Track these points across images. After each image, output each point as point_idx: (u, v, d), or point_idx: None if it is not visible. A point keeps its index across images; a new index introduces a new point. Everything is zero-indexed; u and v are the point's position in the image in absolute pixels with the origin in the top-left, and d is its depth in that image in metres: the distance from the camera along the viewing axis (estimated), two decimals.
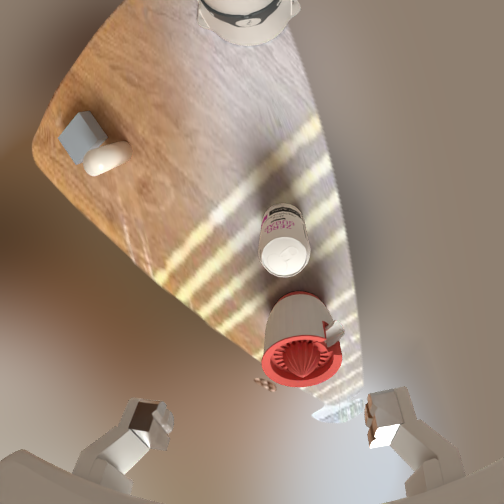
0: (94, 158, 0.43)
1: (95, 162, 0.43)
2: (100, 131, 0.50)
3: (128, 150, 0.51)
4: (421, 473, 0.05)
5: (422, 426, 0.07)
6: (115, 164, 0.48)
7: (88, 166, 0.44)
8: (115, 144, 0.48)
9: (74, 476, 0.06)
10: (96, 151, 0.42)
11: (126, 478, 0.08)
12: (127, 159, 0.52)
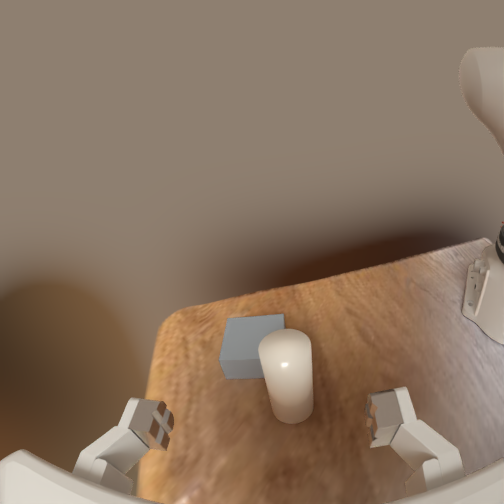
0: (292, 342, 0.26)
1: (289, 348, 0.25)
2: None
3: (311, 405, 0.28)
4: (421, 473, 0.05)
5: (422, 426, 0.07)
6: (296, 393, 0.25)
7: (270, 346, 0.26)
8: None
9: (74, 476, 0.06)
10: (304, 336, 0.26)
11: (126, 478, 0.08)
12: (298, 416, 0.28)
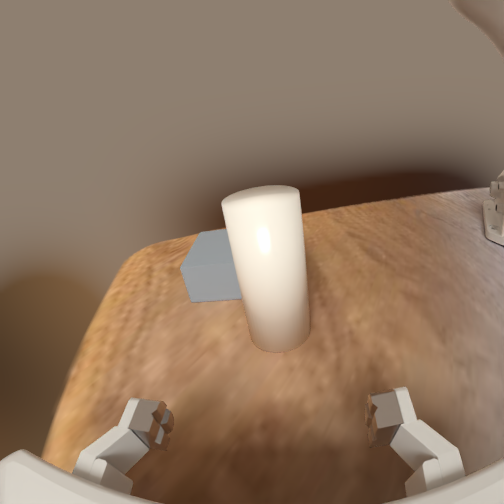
0: (271, 192, 0.18)
1: (266, 196, 0.17)
2: None
3: (307, 320, 0.21)
4: (421, 473, 0.05)
5: (422, 426, 0.07)
6: (280, 278, 0.18)
7: (239, 197, 0.18)
8: None
9: (74, 476, 0.06)
10: (290, 188, 0.18)
11: (126, 478, 0.08)
12: (288, 337, 0.20)
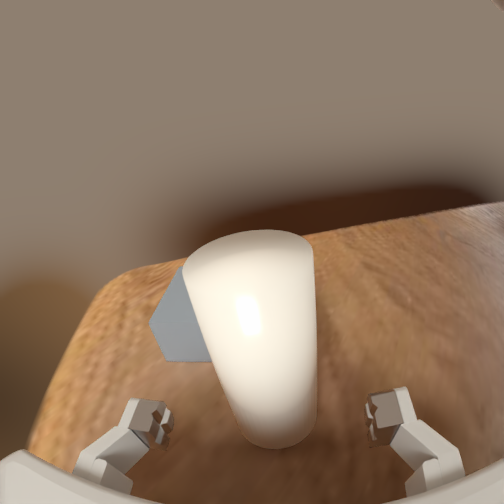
0: (266, 249, 0.11)
1: (257, 258, 0.10)
2: None
3: (313, 412, 0.14)
4: (421, 473, 0.05)
5: (422, 426, 0.07)
6: (278, 384, 0.11)
7: (212, 256, 0.11)
8: None
9: (74, 476, 0.06)
10: (296, 238, 0.11)
11: (126, 478, 0.08)
12: (286, 436, 0.13)
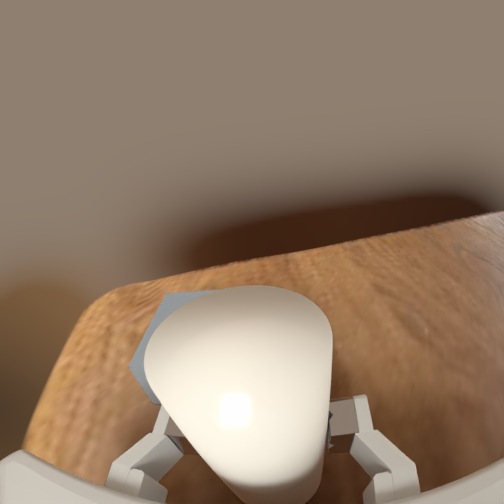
0: (264, 325, 0.07)
1: (249, 345, 0.07)
2: None
3: (318, 481, 0.10)
4: (372, 485, 0.06)
5: (378, 437, 0.07)
6: (277, 480, 0.07)
7: (187, 334, 0.07)
8: None
9: (74, 476, 0.06)
10: (307, 306, 0.08)
11: (161, 487, 0.08)
12: None
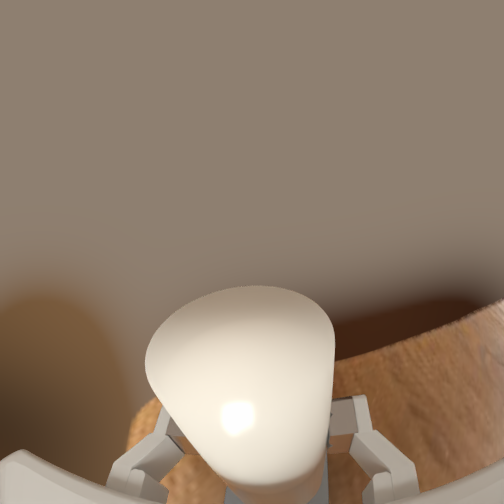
0: (265, 326, 0.07)
1: (251, 346, 0.07)
2: None
3: (319, 481, 0.10)
4: (371, 486, 0.06)
5: (377, 437, 0.07)
6: (279, 481, 0.07)
7: (188, 334, 0.07)
8: None
9: (74, 476, 0.06)
10: (310, 307, 0.08)
11: (162, 487, 0.08)
12: None
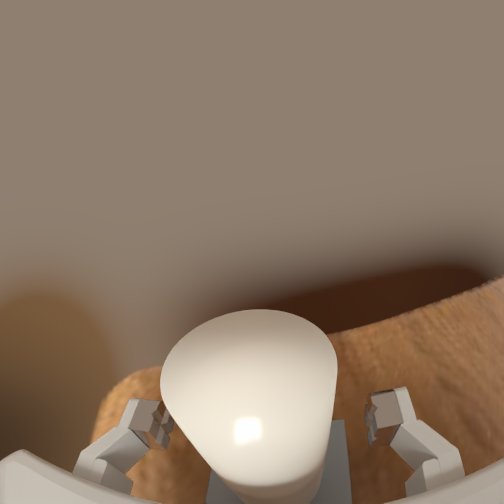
0: (273, 352, 0.08)
1: (260, 371, 0.07)
2: None
3: (318, 486, 0.10)
4: (421, 473, 0.05)
5: (422, 426, 0.07)
6: (282, 488, 0.07)
7: (200, 359, 0.08)
8: None
9: (74, 476, 0.06)
10: (314, 333, 0.08)
11: (126, 478, 0.08)
12: None
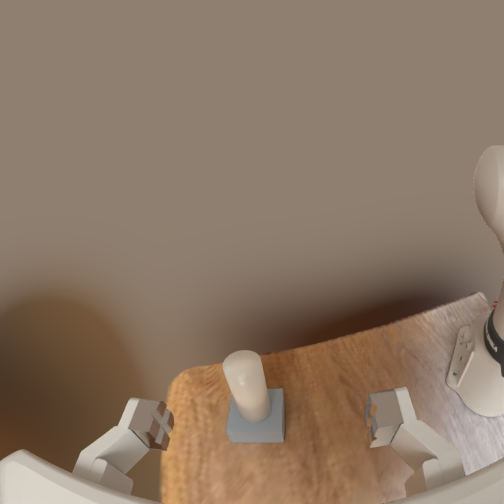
0: (248, 361, 0.34)
1: (244, 365, 0.33)
2: (283, 428, 0.37)
3: (268, 409, 0.37)
4: (421, 473, 0.05)
5: (422, 426, 0.07)
6: (251, 399, 0.34)
7: (231, 362, 0.34)
8: None
9: (74, 476, 0.06)
10: (257, 357, 0.34)
11: (126, 478, 0.08)
12: (257, 417, 0.36)
